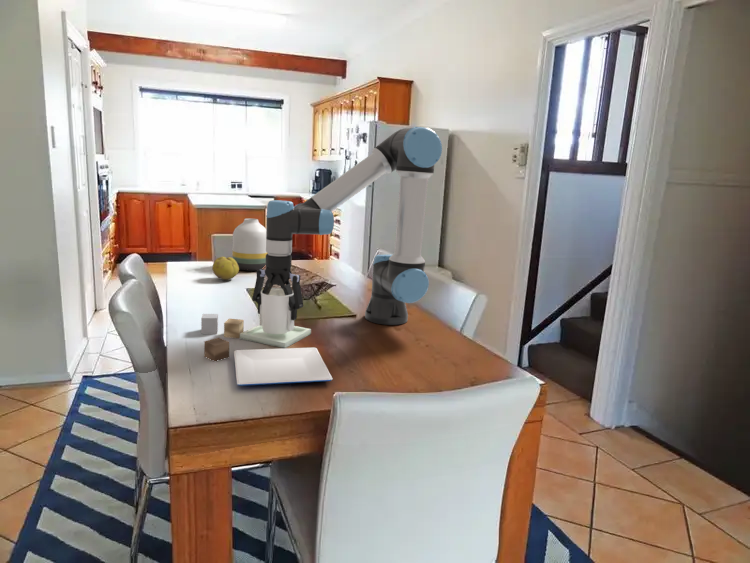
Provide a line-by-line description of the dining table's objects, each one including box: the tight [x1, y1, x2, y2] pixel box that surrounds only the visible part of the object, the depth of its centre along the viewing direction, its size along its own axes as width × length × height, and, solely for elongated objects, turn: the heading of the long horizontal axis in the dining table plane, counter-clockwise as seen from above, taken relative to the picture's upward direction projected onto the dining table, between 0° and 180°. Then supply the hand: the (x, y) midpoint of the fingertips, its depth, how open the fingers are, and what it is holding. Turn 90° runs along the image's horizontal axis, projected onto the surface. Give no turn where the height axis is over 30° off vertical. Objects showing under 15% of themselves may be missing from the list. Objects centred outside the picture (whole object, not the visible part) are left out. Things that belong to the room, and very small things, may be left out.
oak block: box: [223, 318, 245, 339], centre depth 156 cm, size 4×4×4 cm
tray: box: [239, 324, 312, 349], centre depth 158 cm, size 15×15×2 cm
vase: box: [231, 218, 268, 272], centre depth 249 cm, size 17×17×24 cm
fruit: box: [212, 256, 240, 281], centre depth 225 cm, size 11×12×10 cm
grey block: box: [200, 313, 219, 335], centre depth 158 cm, size 4×4×5 cm
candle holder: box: [261, 287, 294, 334], centre depth 157 cm, size 10×10×12 cm
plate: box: [233, 347, 333, 387], centre depth 133 cm, size 22×22×2 cm
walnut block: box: [203, 337, 230, 362], centre depth 138 cm, size 4×4×4 cm
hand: (276, 327), depth 158 cm, fingers closed on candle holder, 9 cm apart
